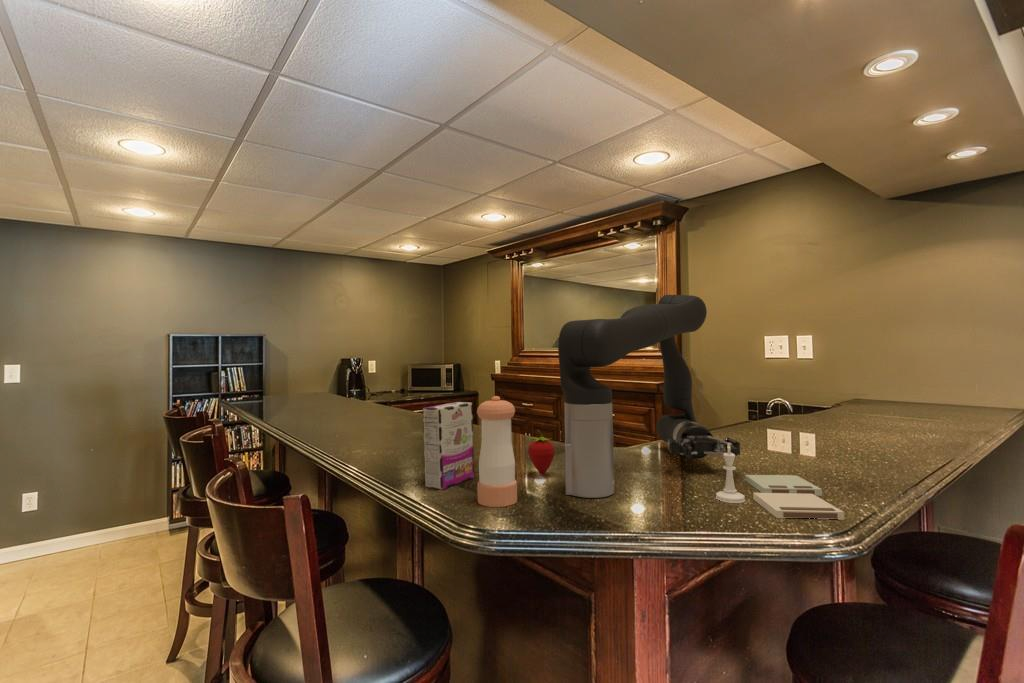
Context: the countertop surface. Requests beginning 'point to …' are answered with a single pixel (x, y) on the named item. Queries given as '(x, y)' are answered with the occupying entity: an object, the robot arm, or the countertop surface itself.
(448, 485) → the candy bar box
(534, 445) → the strawberry
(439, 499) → the countertop surface
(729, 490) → the chess piece
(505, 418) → the pepper shaker
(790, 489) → the tile two
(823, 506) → the tile one
